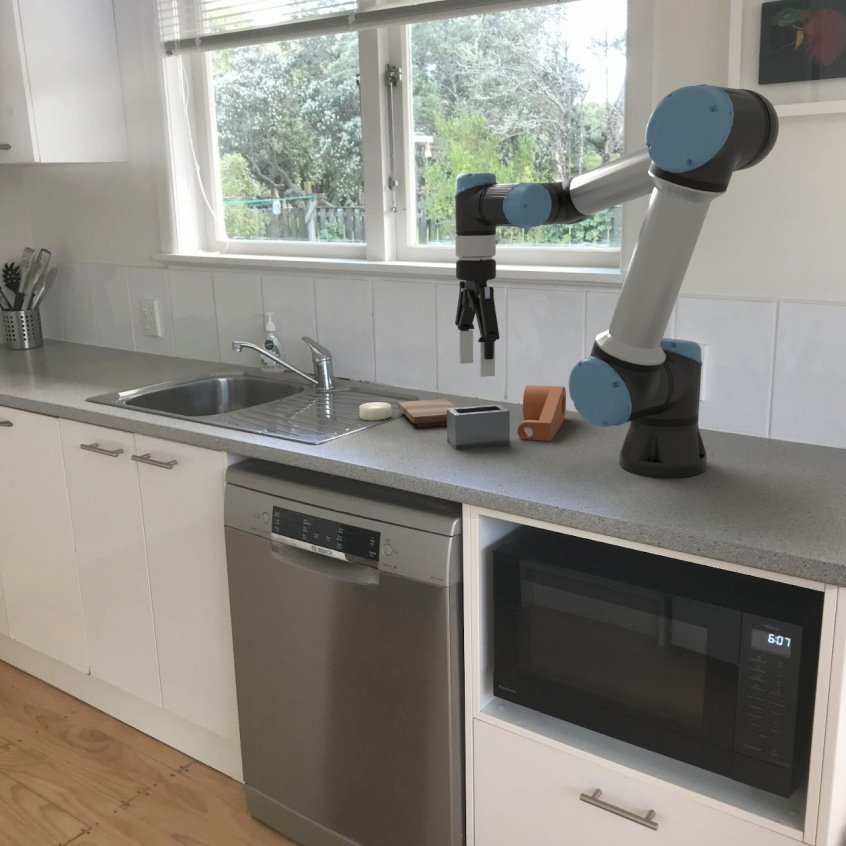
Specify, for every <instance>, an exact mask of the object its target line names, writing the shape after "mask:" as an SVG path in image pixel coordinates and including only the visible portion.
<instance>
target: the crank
mask: <svg viewBox="0 0 846 846" xmlns="http://www.w3.org/2000/svg"><path fill="white" fill-rule="evenodd" d="M522 398H523V401H522V416H523V421H522V422H521V423H520V424H519V426H518V427H517V432H516V433H517V435H518V437H519V439H520V440H530V441H532V440H533V441H543V442H545V441H546V442H551V441H552V440H553V438H554V436H555V435H556V434H557V432H558V430H559V429H560V427H561V426H562V424H563V423H564V421H565V417H566V411H567V391H566V387H565V386H563V385H562V386H557V385H556V386H555V385H553V386H552V385H530V384H529V385H526V386H525V388H524V391H523V396H522ZM525 428H530V429H531V431H532V434H528V433H526V431H525Z"/></svg>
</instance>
